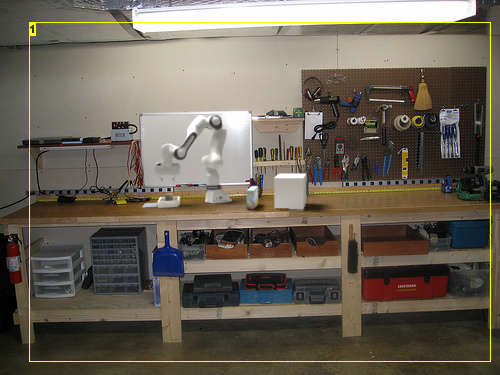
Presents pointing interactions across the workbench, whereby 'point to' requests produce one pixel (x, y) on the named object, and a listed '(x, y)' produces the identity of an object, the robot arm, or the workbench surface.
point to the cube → (290, 191)
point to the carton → (168, 202)
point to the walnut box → (169, 197)
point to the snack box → (252, 197)
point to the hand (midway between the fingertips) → (167, 180)
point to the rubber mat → (150, 205)
